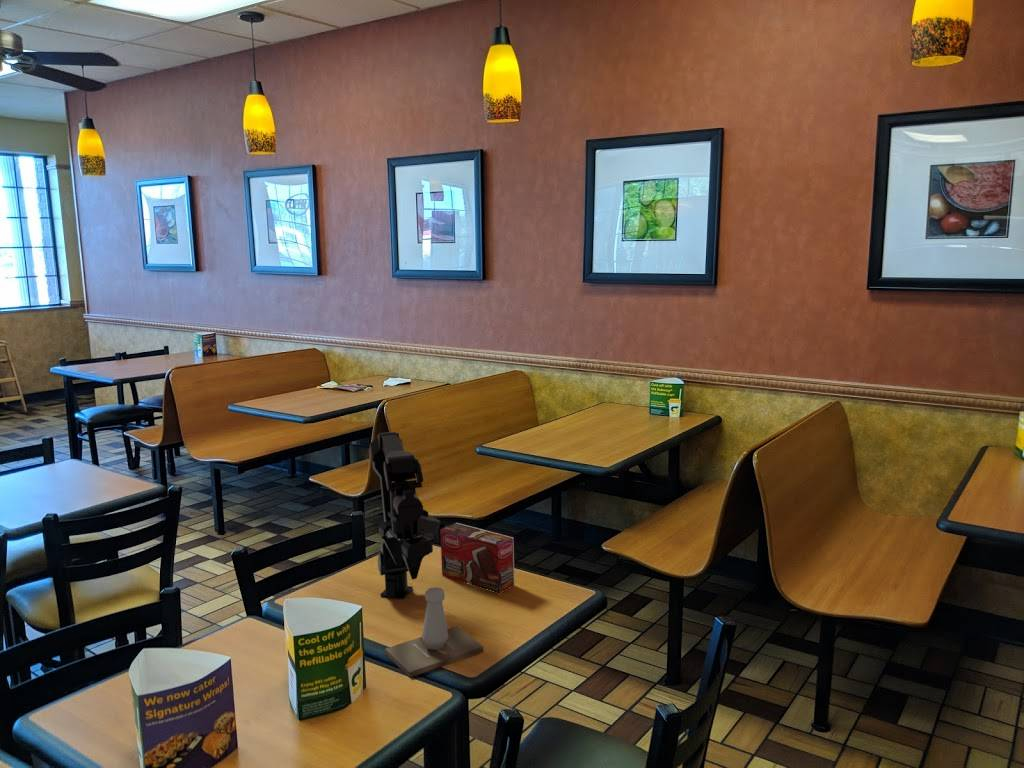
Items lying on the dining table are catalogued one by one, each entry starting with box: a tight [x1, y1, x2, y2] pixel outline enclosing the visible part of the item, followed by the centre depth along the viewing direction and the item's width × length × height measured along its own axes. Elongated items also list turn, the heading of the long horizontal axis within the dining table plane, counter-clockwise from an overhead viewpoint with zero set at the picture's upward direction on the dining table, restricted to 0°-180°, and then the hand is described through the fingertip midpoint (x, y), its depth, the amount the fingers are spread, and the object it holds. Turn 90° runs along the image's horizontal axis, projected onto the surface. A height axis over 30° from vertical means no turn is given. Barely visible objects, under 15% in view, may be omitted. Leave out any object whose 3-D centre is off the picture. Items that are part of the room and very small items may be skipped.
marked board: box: [384, 625, 485, 678], centre depth 171 cm, size 18×12×1 cm, turn 124°
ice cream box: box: [439, 522, 516, 594], centre depth 207 cm, size 20×6×13 cm, turn 52°
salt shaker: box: [421, 586, 448, 650], centre depth 171 cm, size 6×6×13 cm
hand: (406, 572), depth 183 cm, fingers open, 9 cm apart
